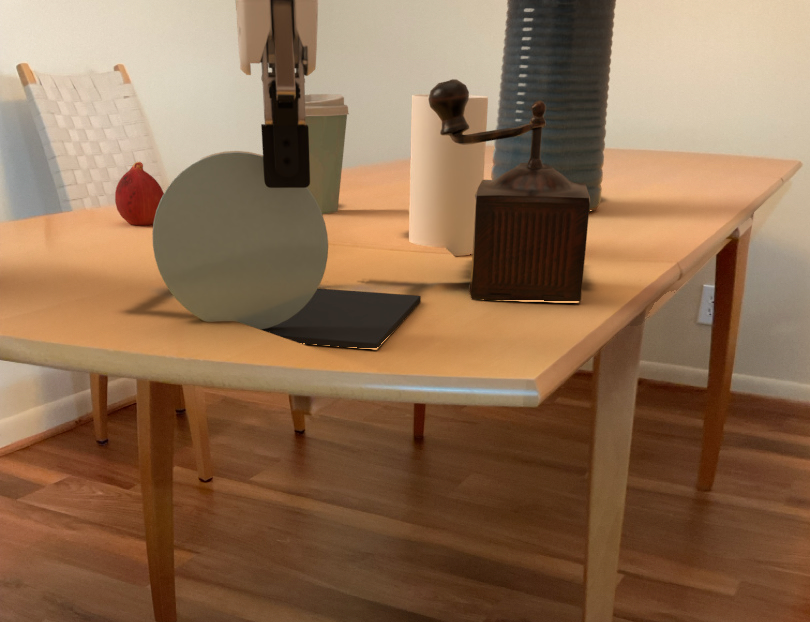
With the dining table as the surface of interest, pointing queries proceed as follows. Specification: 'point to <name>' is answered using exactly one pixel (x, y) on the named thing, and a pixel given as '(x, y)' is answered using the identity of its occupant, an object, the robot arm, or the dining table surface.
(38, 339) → the dining table surface
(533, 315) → the dining table surface
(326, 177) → the disposable coffee cup
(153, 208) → the pomegranate
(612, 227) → the dining table surface
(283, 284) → the plate
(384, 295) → the mat
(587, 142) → the vase
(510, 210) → the manual coffee grinder
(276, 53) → the robot arm
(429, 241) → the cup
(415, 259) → the dining table surface
